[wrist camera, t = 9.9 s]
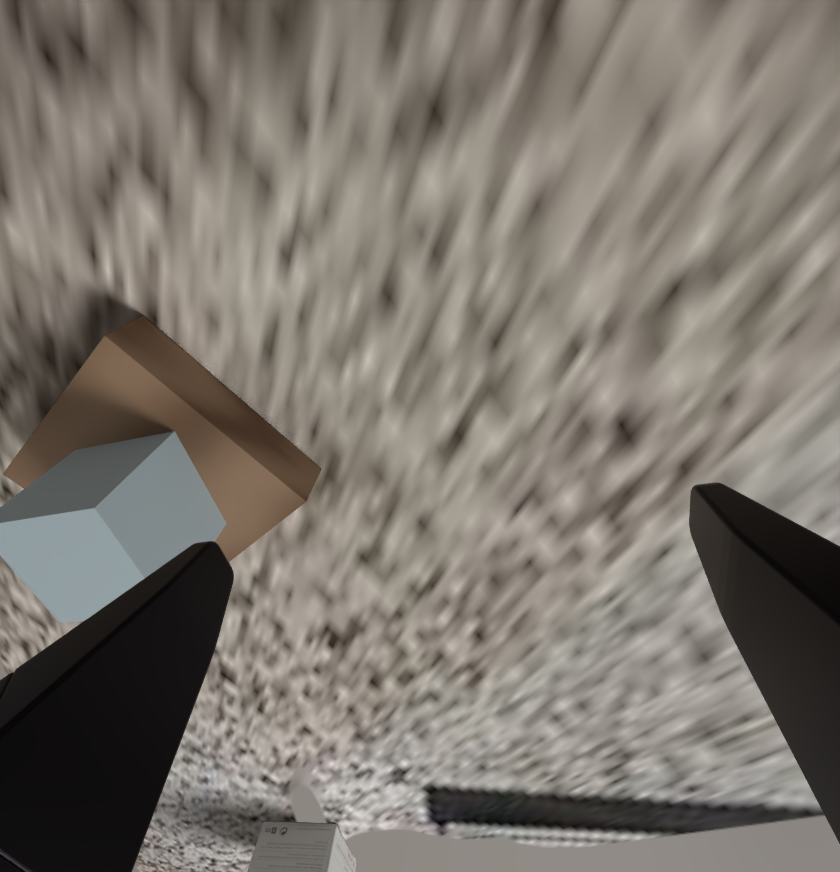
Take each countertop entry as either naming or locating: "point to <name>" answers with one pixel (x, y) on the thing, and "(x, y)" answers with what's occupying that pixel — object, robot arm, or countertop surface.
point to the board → (174, 411)
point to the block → (106, 522)
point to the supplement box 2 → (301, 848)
